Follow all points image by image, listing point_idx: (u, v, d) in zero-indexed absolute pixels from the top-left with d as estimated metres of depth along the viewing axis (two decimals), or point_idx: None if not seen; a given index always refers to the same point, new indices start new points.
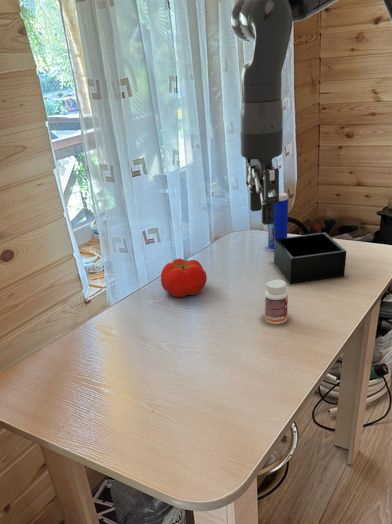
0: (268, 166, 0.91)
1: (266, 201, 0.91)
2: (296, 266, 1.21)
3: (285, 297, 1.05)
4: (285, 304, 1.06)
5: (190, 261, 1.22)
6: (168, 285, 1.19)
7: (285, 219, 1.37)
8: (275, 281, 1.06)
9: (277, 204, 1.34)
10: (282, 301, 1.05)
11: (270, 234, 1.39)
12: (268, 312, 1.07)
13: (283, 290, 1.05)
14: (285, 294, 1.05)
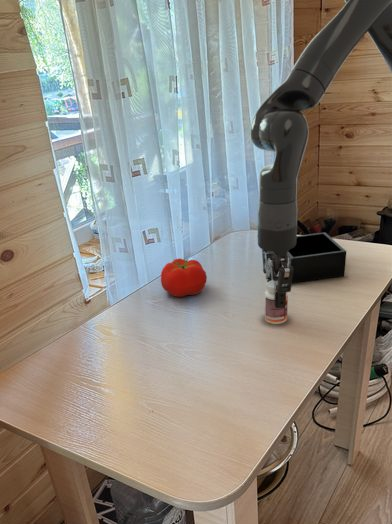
0: (284, 259, 0.99)
1: (279, 291, 1.00)
2: (296, 266, 1.21)
3: None
4: None
5: (190, 261, 1.22)
6: (168, 285, 1.19)
7: None
8: None
9: None
10: None
11: None
12: (268, 312, 1.07)
13: None
14: None
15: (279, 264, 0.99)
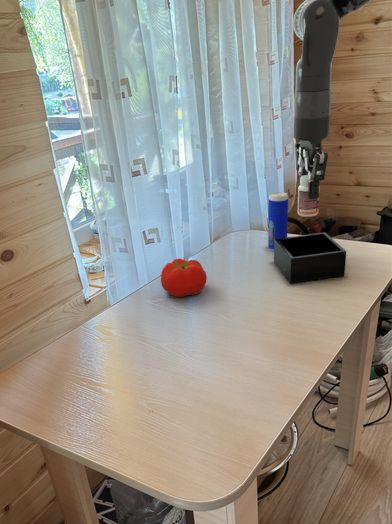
0: (318, 147, 1.07)
1: (314, 178, 1.09)
2: (296, 266, 1.21)
3: None
4: None
5: (190, 261, 1.22)
6: (168, 285, 1.19)
7: (285, 219, 1.37)
8: None
9: (277, 204, 1.34)
10: None
11: (270, 234, 1.39)
12: (301, 205, 1.16)
13: None
14: None
15: (314, 152, 1.07)
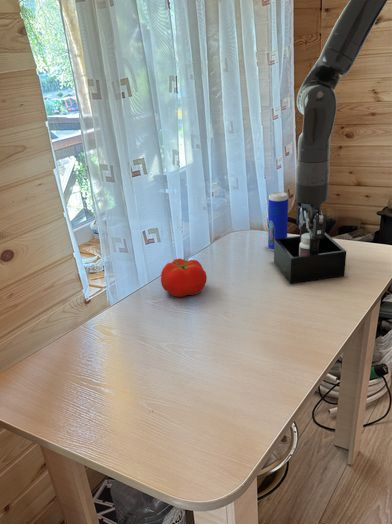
0: (317, 210, 1.18)
1: (314, 237, 1.19)
2: (296, 266, 1.21)
3: None
4: None
5: (190, 261, 1.22)
6: (168, 285, 1.19)
7: (285, 219, 1.37)
8: (308, 234, 1.26)
9: (277, 204, 1.34)
10: None
11: (270, 234, 1.39)
12: None
13: None
14: None
15: (314, 215, 1.18)
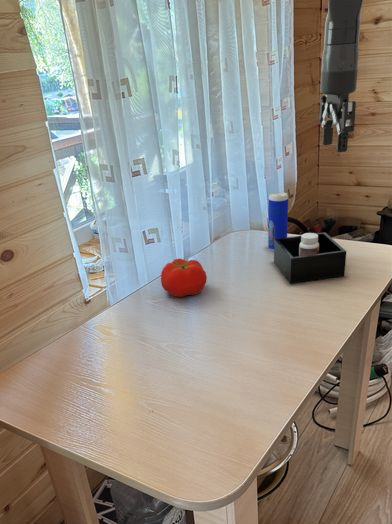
0: (345, 100, 1.09)
1: (343, 129, 1.09)
2: (296, 266, 1.21)
3: (317, 247, 1.25)
4: (317, 253, 1.26)
5: (190, 261, 1.22)
6: (168, 285, 1.19)
7: (285, 219, 1.37)
8: (308, 234, 1.26)
9: (277, 204, 1.34)
10: (314, 250, 1.25)
11: (270, 234, 1.39)
12: None
13: (315, 241, 1.24)
14: (317, 244, 1.25)
15: (341, 106, 1.09)
